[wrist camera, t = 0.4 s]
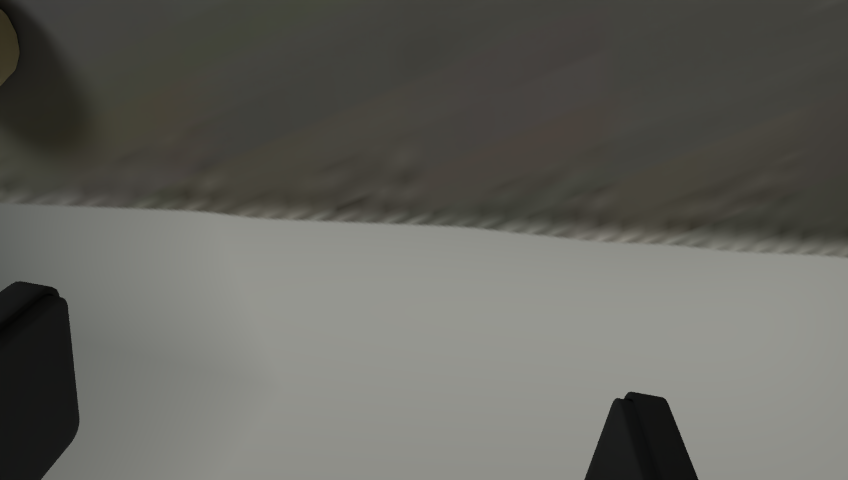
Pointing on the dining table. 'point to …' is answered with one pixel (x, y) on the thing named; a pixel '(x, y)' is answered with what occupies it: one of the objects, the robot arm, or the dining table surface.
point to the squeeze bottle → (7, 48)
